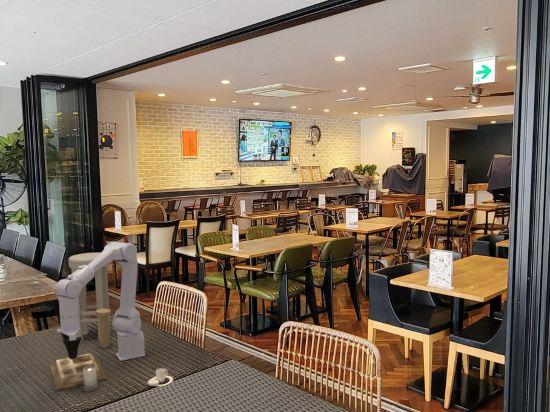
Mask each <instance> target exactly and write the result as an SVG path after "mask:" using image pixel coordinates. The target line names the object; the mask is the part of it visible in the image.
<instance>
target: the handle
mask: <svg viewBox="0 0 550 412" xmlns="http://www.w3.org/2000/svg"><path fill="white" fill-rule="evenodd" d="M95 311H96V315H95V316H99V337H100V341H99V344H100V347H101V349H107V348H110V341H111V340H110V339H111V338H110V337H111V334H110V332H111V330H110V331H109V323H108V316H110V315H111V313H112V311H111V309H110V308H109V309H98V310H97V309H96V310H95ZM99 337H98V338H99Z"/></svg>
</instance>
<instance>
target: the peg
mask: <svg viewBox="0 0 550 412" xmlns="http://www.w3.org/2000/svg"><path fill="white" fill-rule="evenodd" d="M83 378H84V385H83V391H84V392H89V393H90V392H94V391H96V390H97V389H98V382H97V375H96V366H87V367H84V368H83Z"/></svg>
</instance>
